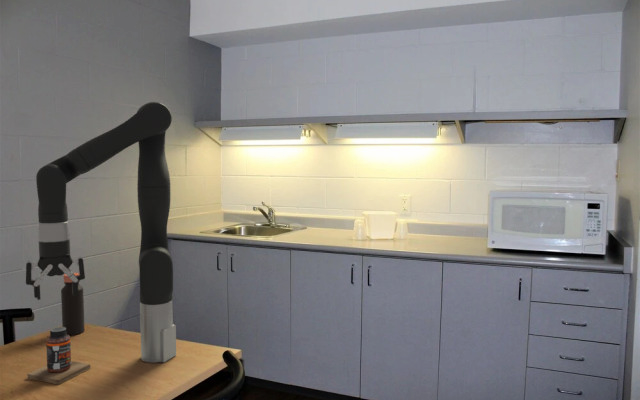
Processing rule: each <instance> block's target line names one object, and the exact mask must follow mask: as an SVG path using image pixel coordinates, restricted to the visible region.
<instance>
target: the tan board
mask: <svg viewBox="0 0 640 400" xmlns="http://www.w3.org/2000/svg"><path fill="white" fill-rule="evenodd" d="M90 369H91V364H90V363H85V362H79V361H74V360H71V367H70V368H69V369H68V370H66V371H63V372H57V373H55V372H49V371H48V370H47V364H46V365H44V366H42V367H39V368H37V369H35V370H33V371H30V372H28V373H27V379H28V380H34V381H38V382H39V381H40V382H45V383H50V384H55V385H61V384H63V383H65V382H67V381H69V380H71V379H73V378H75V377H77V376H79V375H80V374H83V373H85V372H87V371H89V370H90Z"/></svg>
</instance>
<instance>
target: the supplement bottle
mask: <svg viewBox="0 0 640 400" xmlns="http://www.w3.org/2000/svg"><path fill="white" fill-rule="evenodd" d="M70 336H71V335H67V334H66V328H65V327H62V326H59V327H53V328H51V329H49V337H47V338H46V342H45V343H46V365H47V370H48V371H49V372H55V373H57V372H63V371H66V370H68V369H69V368H70V367H71V361H72V352H71V351H72V350H71V349H72V347H71V345H72V344H71V337H70Z"/></svg>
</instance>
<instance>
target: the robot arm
mask: <svg viewBox="0 0 640 400" xmlns="http://www.w3.org/2000/svg"><path fill="white" fill-rule="evenodd" d="M172 120H173V117H172V113H171V110H170V109H169V108H168V107H167V105H165V104H163V103H161V102H157V101H151V102H150V101H149V102H147V103H145V104H143V105H141V106H140V107H139V108H138V110H137V112H136V113H135V114H134V115H132V116H131V117H130V118H128V119H127V120H126V121H124V122H123V123H120V124H119V125H117V126H115V127H113V128H111V129H110V130H107V131H106V132H103V133H102V134H100V135H97V136H95V137H93V138H91V139H90V140H87V141H86V142H84V143H83V144H81V145H79V146H77V147H75V148H74V149H73V148H72V150H71V151H69V152H68V153H67V154H65V155H63V156H60V157H59V158H57V159H54V160H53V161H51V162H49V163H47V164H45V165H44V166H41V167H40V168H39V170H38V171H37V173H36V175H35V177H36V179H35V180H36V190H37V197H38V198H37V199H38V206H37V207H38V209H37V210H38V211H37V217H38V227H37V228H38V229H37V239H38V257H39V259H38V261H31V260H28V261H27V262H26V265H25V285H27V286H32V287H33V293H34V294H33V295H34V298H35V299H37V301H39V300H41V285H40V284H41V283H42V281H43V280H45V278H46V277H54V276H64V275H65V274H66V275H67V276H68V277H69V278H70V279H71V280H72V294H73V296H76V294H77V293H78V281H80V282H81V281H82V280H85V278H86V275H85V265H84V264H85V263H84V259H83V257H82V256H78V257H76V258H72V257H71V242H70V239H71V238H70V236H71V235H70V234H71V233H70V226H69V216H68V215H69V214H68V206H67V205H68V204H67V184H68V183H70V182H71V181H73V180H75V179H76V178H77V177H79V176H81V175H84V174H86V173H89V172H91V170H93V169H96V168H97V167H99V166H100V165H102V164H103V163H105V162H107V161H109V160H110V159H112V158H113V157H115V156H116V155H118V154H120V153H122V152H123V151H124V150H125V149H127V148H129V147H130V146H133V145H135V144H136V143H138V164H137V188H136V189H137V204H138V205H137V208H138V215H139V220H140V221H139V222H140V231H141V236H140V245H139V246H140V248H139V255H138V256H139V257H138V265H139V266H138V267H139V316H140V317H139V320H140V321H139V322H140V327H139V328H140V358H141V361H142V362H145V363H153V364H154V363H166V362H168V361H169V360H170V359H172V358H174V357H175V356H177V328H176V327H177V325H176V324H174V320H173V319H174V318H173V317H174V315H173V313H174V311H173V293H174V264H173V263H174V262H173V259H172V256H171V255H170V250H169V244H168V243H169V242H168V234H167V232H168V222H169V216H170V209H171V178H170V177H171V176H170V172H169V167H168V162H167V158H166V152H165V149H166V147H165V146H166V131H168V129H169V128H170V127H171V124H172ZM73 264H75V266H76V267H78V273H79V274H80V275H78V276H76V275H75V274H74V273H75V272H73V271H72V270H71V269H70V267H71V266H72V265H73ZM36 267H38V268H39V269H40V270H41V272H40V273H39V275H38V276H37V277H36V278H35V279H32V271H34V270H35V269H36Z"/></svg>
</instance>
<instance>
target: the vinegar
mask: <svg viewBox="0 0 640 400" xmlns="http://www.w3.org/2000/svg"><path fill="white" fill-rule="evenodd" d="M73 273H74V274H75V275H76V276H78V275H80V273H79V272H73ZM80 282H81V280H80V281H78V293H77V294H76V296H73V294H72V280H71V279H70V278H69V277H68V276H67V275H66V274H63V283H64V286H63V287H62V288H61V290H60V295H61V296H60V298H61V322H62V323H61V324H62V325H61V327H65V328H66V334H67V335H69V336H76V335H80V334H83V333H84V332H85V305H84V303H85V302H84V301H85V300H84V288H83V286H82V285H81V284H80Z"/></svg>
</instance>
